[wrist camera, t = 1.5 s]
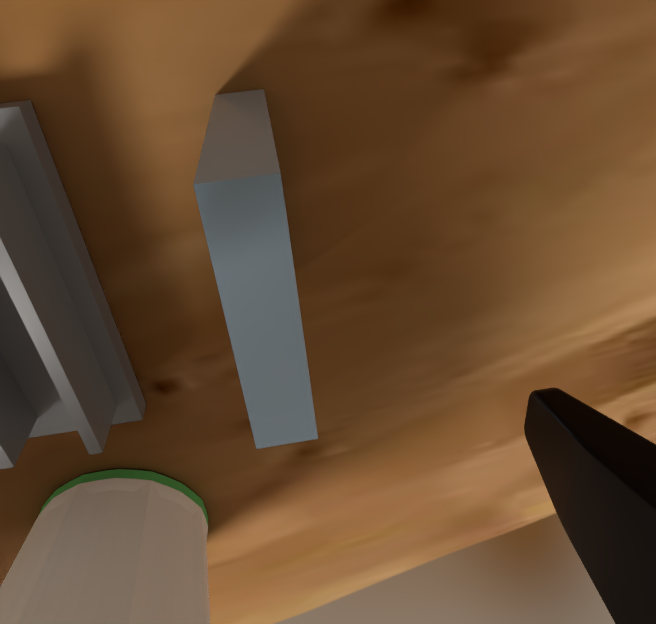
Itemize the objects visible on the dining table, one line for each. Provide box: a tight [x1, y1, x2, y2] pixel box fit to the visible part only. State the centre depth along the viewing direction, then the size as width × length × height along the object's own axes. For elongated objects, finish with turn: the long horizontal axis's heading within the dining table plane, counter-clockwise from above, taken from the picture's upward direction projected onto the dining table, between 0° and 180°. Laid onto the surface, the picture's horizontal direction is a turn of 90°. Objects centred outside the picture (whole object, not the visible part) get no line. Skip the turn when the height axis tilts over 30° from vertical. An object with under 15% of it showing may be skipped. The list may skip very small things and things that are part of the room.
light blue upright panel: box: [193, 89, 318, 449], centre depth 15 cm, size 7×2×9 cm, turn 5°
